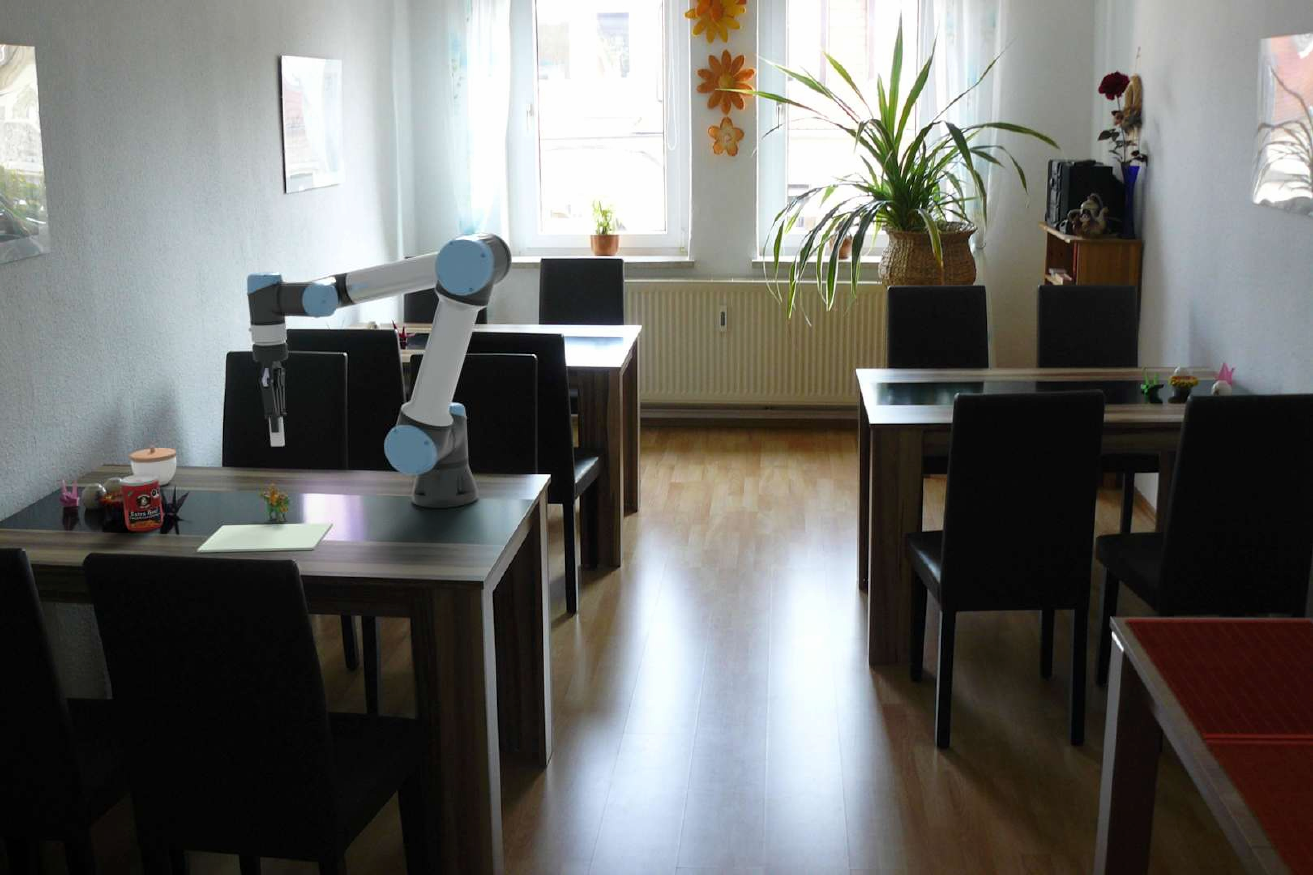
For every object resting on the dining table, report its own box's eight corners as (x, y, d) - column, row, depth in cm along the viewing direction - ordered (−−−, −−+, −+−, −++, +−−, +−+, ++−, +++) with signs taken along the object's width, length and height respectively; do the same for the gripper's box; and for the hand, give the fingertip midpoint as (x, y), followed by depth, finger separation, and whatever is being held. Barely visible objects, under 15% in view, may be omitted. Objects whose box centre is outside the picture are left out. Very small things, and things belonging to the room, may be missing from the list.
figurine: (285, 525, 282) (282, 490, 280) (254, 516, 289) (251, 481, 288) (297, 522, 284) (294, 486, 282) (266, 513, 292) (262, 478, 290)
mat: (332, 525, 282) (332, 522, 281) (313, 549, 265) (313, 547, 265) (223, 527, 281) (222, 525, 281) (197, 552, 265) (196, 550, 265)
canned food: (128, 533, 278) (122, 484, 276) (124, 524, 285) (118, 476, 283) (165, 528, 282) (160, 479, 279) (161, 519, 289) (155, 471, 286)
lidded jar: (169, 488, 314) (165, 451, 312) (125, 489, 314) (121, 452, 312) (185, 477, 325) (181, 441, 322) (143, 477, 325) (139, 441, 323)
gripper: (260, 338, 291) (269, 439, 297) (243, 347, 279) (252, 452, 284) (294, 337, 292) (301, 438, 297) (278, 347, 279) (286, 452, 284)
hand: (277, 445), depth 291 cm, fingers closed
